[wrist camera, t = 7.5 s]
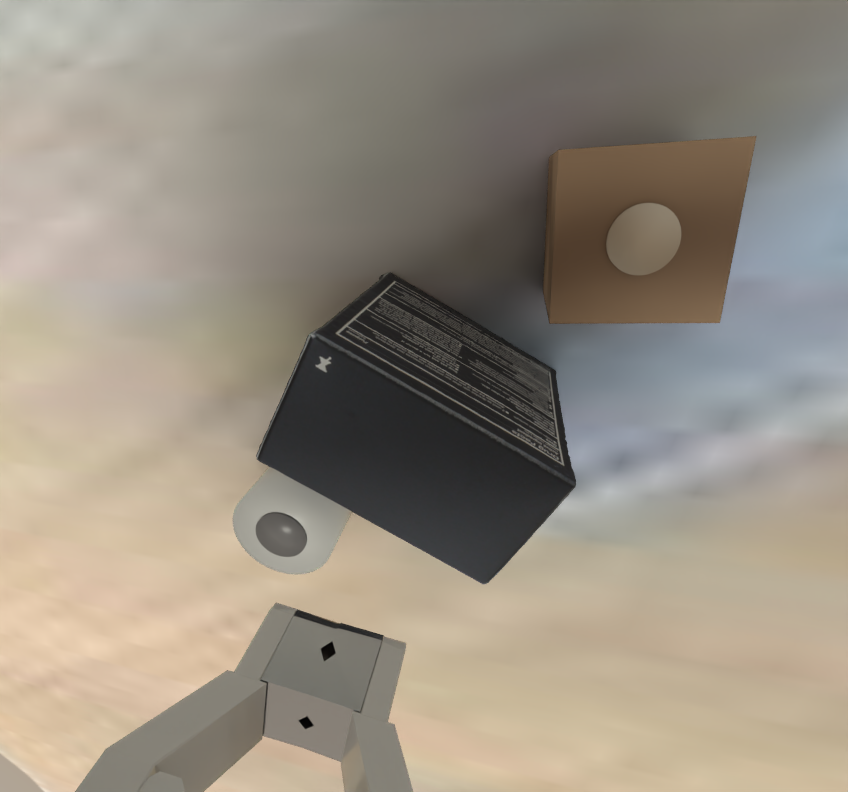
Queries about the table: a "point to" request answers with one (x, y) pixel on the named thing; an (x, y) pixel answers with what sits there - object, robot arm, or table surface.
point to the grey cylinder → (288, 524)
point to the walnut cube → (643, 230)
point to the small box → (425, 428)
